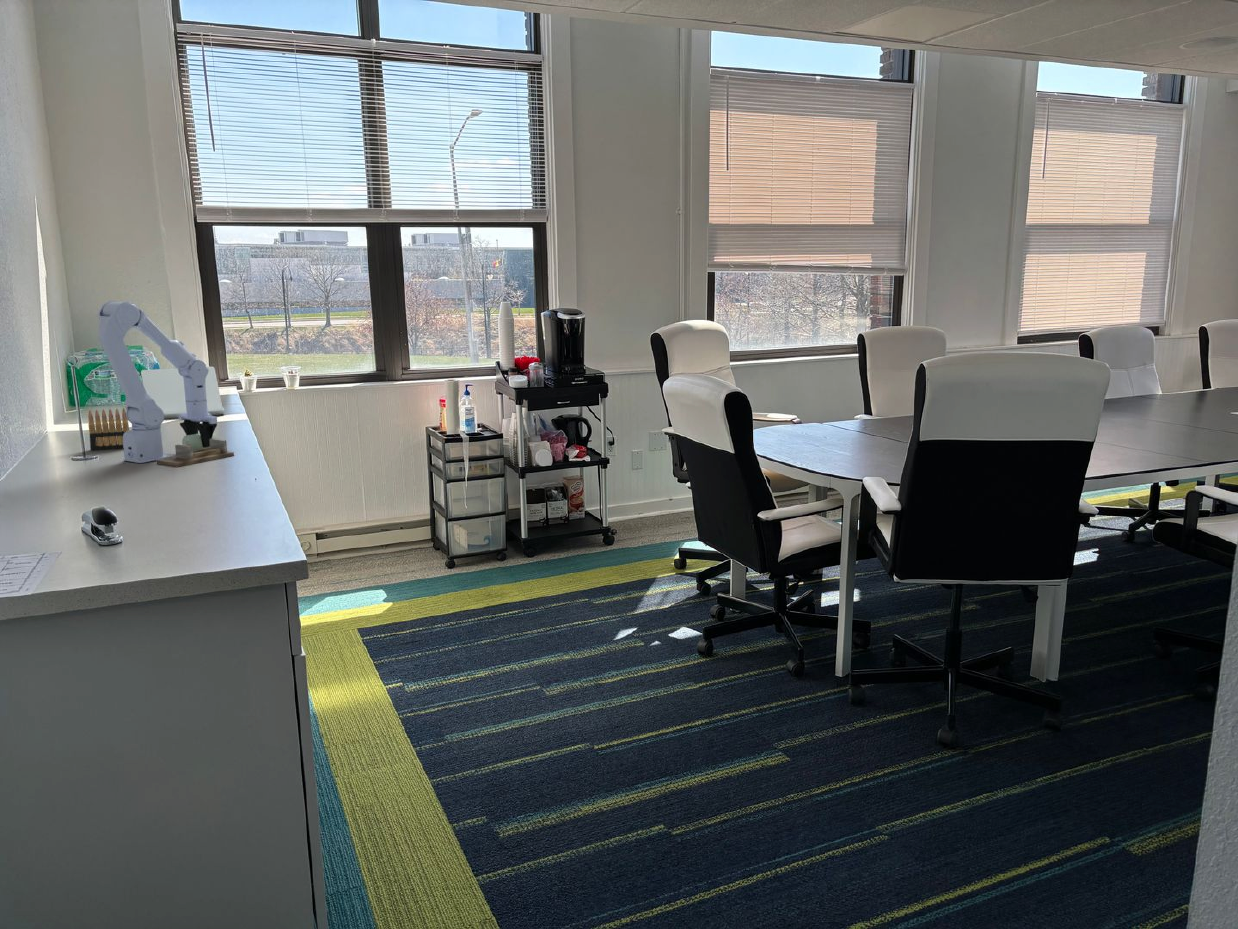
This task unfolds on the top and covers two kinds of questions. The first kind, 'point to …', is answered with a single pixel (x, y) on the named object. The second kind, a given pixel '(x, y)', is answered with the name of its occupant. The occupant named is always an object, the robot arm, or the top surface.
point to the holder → (197, 454)
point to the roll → (195, 441)
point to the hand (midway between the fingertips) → (200, 446)
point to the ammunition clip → (107, 430)
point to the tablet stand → (178, 391)
